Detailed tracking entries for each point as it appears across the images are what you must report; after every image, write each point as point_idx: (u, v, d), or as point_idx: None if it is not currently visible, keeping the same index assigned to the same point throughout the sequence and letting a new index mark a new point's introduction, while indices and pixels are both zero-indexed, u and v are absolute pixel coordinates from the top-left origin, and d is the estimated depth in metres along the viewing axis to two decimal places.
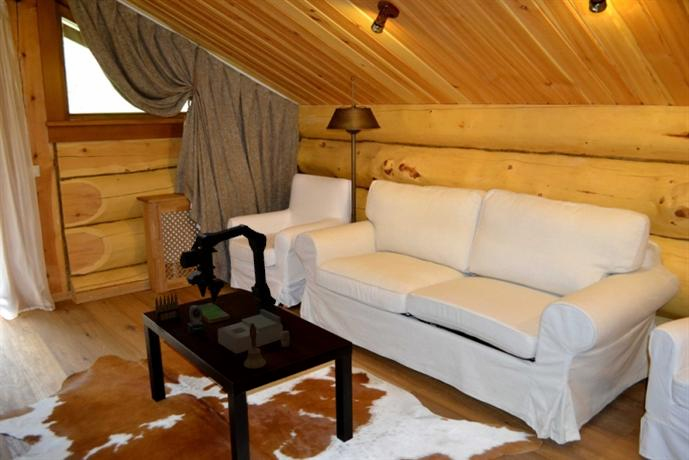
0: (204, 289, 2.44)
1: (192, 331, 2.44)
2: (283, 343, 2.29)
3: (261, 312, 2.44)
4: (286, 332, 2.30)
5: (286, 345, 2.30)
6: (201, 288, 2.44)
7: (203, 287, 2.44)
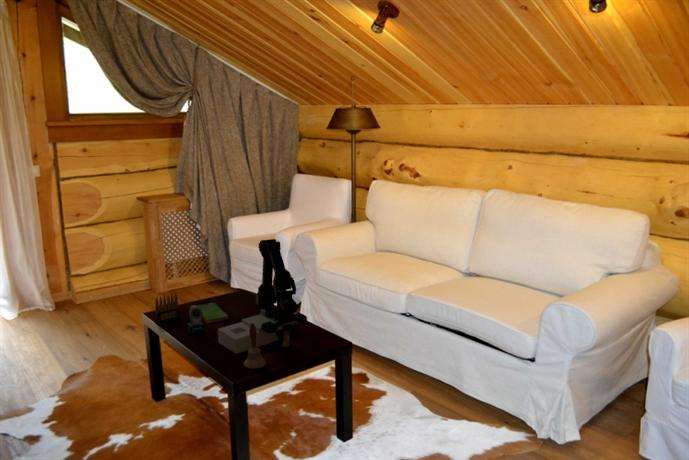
0: (290, 334, 2.31)
1: (192, 331, 2.44)
2: (283, 343, 2.29)
3: (261, 312, 2.44)
4: (286, 332, 2.30)
5: (286, 345, 2.30)
6: None
7: (289, 332, 2.31)
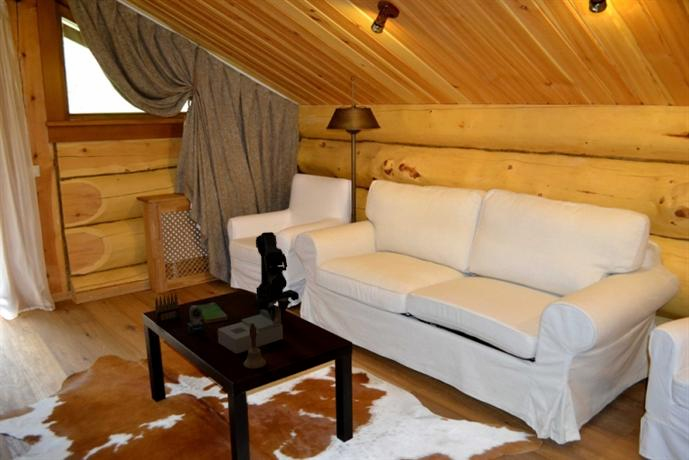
0: (281, 311, 2.29)
1: (192, 331, 2.44)
2: (275, 320, 2.27)
3: (261, 312, 2.44)
4: (278, 309, 2.28)
5: (278, 322, 2.28)
6: None
7: (281, 309, 2.29)
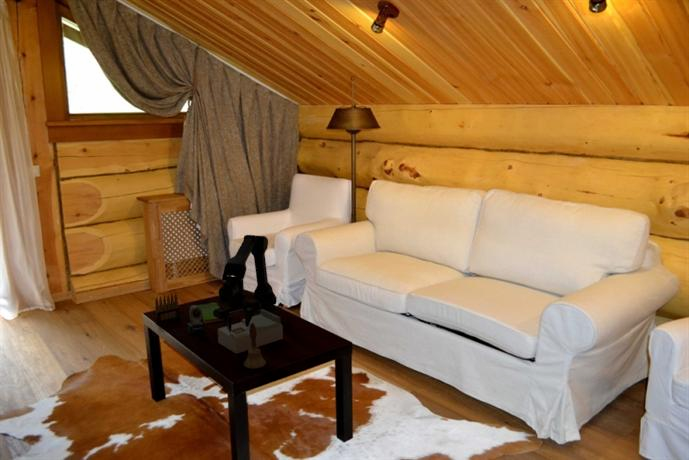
0: (247, 319, 2.32)
1: (192, 331, 2.44)
2: None
3: (261, 312, 2.44)
4: (240, 331, 2.31)
5: None
6: (246, 317, 2.33)
7: (247, 317, 2.32)
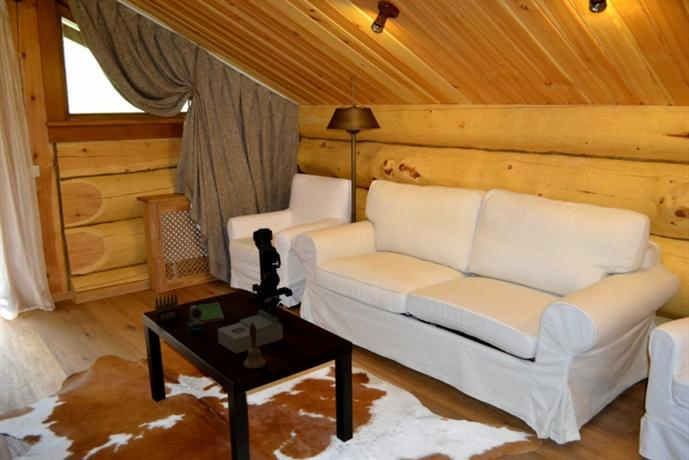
0: None
1: (192, 331, 2.44)
2: None
3: (259, 313, 2.43)
4: (240, 331, 2.31)
5: None
6: None
7: None
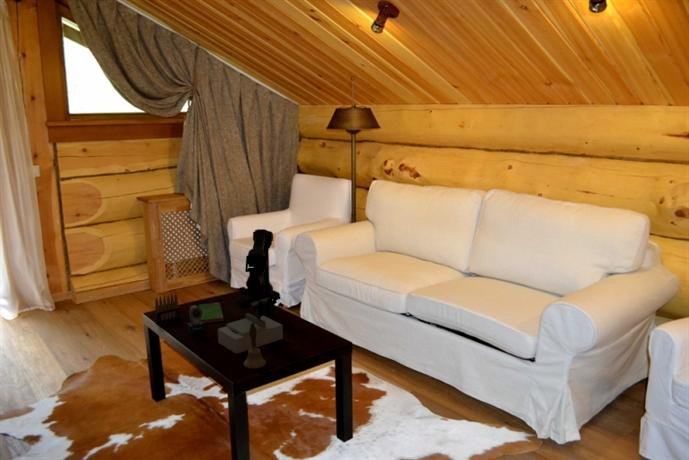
0: None
1: (192, 331, 2.44)
2: None
3: (246, 316, 2.39)
4: None
5: None
6: None
7: (259, 309, 2.35)
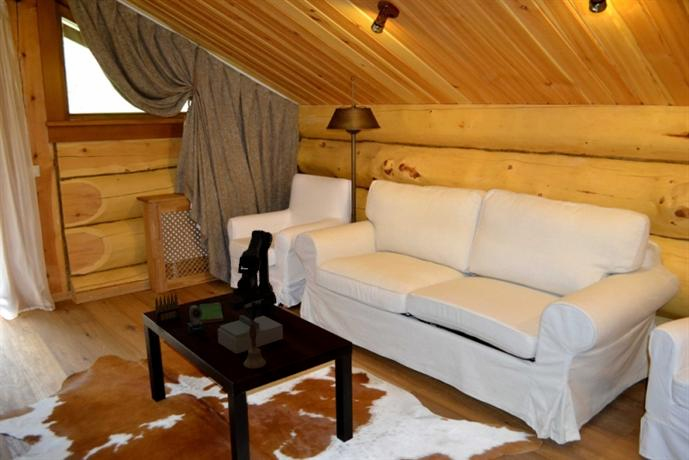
0: None
1: (192, 331, 2.44)
2: None
3: (240, 318, 2.37)
4: None
5: None
6: None
7: None
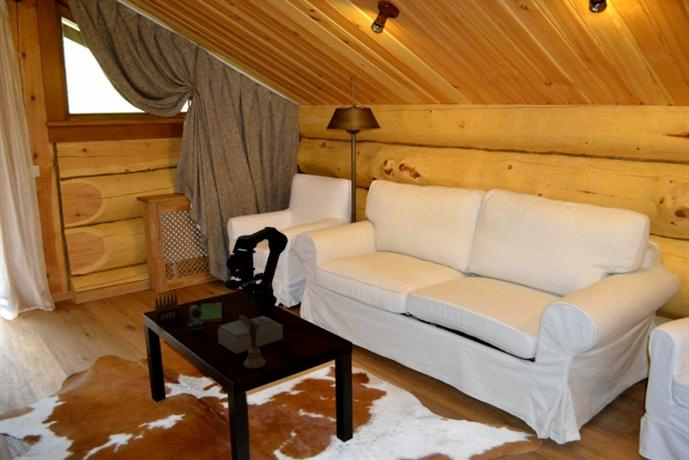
0: None
1: (192, 331, 2.44)
2: None
3: (240, 318, 2.37)
4: None
5: None
6: None
7: None
